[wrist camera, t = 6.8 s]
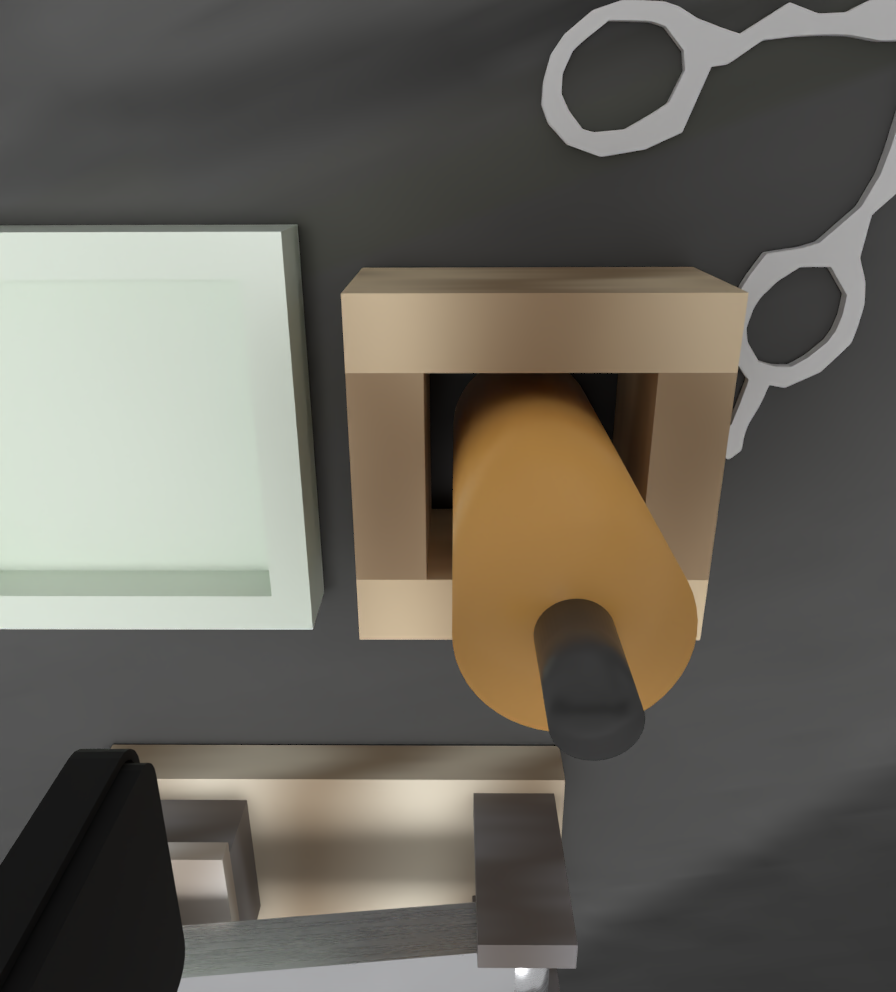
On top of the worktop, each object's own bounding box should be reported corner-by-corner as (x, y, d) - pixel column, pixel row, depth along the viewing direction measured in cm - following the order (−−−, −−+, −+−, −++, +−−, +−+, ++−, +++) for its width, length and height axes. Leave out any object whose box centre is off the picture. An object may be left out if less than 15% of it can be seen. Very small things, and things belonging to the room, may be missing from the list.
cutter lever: (545, 895, 22) (558, 947, 20) (541, 965, 23) (552, 1021, 22) (20, 936, 21) (-7, 996, 19) (41, 1009, 22) (18, 1070, 20)
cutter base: (558, 745, 25) (591, 930, 19) (550, 886, 27) (576, 1090, 21) (112, 744, 25) (6, 927, 19) (141, 884, 28) (55, 1086, 22)
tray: (298, 224, 19) (281, 231, 17) (324, 591, 23) (312, 629, 21) (-120, 225, 19) (-181, 232, 17) (-23, 591, 23) (-65, 628, 21)
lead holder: (693, 266, 19) (749, 292, 16) (659, 561, 23) (699, 639, 19) (362, 267, 19) (340, 293, 16) (375, 560, 23) (359, 639, 19)
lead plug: (595, 356, 20) (763, 596, 9) (586, 488, 22) (722, 832, 11) (453, 357, 20) (450, 596, 9) (453, 488, 22) (451, 831, 11)
